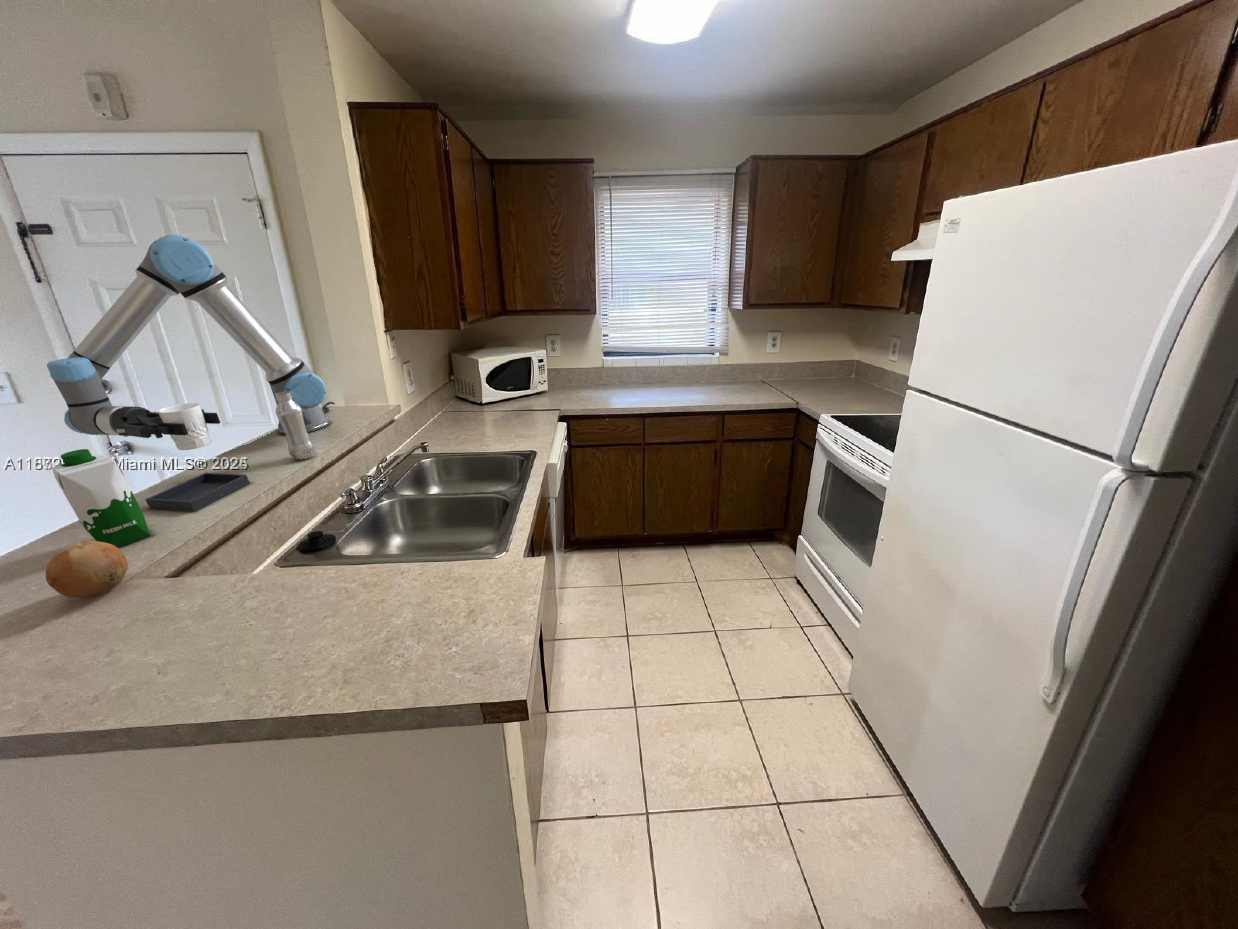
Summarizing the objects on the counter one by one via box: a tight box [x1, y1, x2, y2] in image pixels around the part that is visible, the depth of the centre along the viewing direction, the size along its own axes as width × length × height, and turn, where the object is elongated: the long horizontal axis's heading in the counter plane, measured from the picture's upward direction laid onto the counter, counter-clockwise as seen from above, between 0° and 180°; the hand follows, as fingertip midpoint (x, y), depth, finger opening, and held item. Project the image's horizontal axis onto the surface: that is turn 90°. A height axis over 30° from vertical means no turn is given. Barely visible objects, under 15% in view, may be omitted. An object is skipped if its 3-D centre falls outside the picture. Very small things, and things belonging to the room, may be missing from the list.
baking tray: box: [144, 472, 251, 513], centre depth 120 cm, size 15×13×3 cm
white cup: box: [157, 402, 213, 451], centre depth 117 cm, size 8×8×10 cm
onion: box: [45, 540, 129, 599], centre depth 84 cm, size 10×10×10 cm
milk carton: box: [51, 448, 152, 549], centre depth 98 cm, size 9×9×20 cm
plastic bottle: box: [275, 391, 316, 461], centre depth 137 cm, size 6×7×20 cm
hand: (201, 423), depth 116 cm, fingers closed on white cup, 8 cm apart
